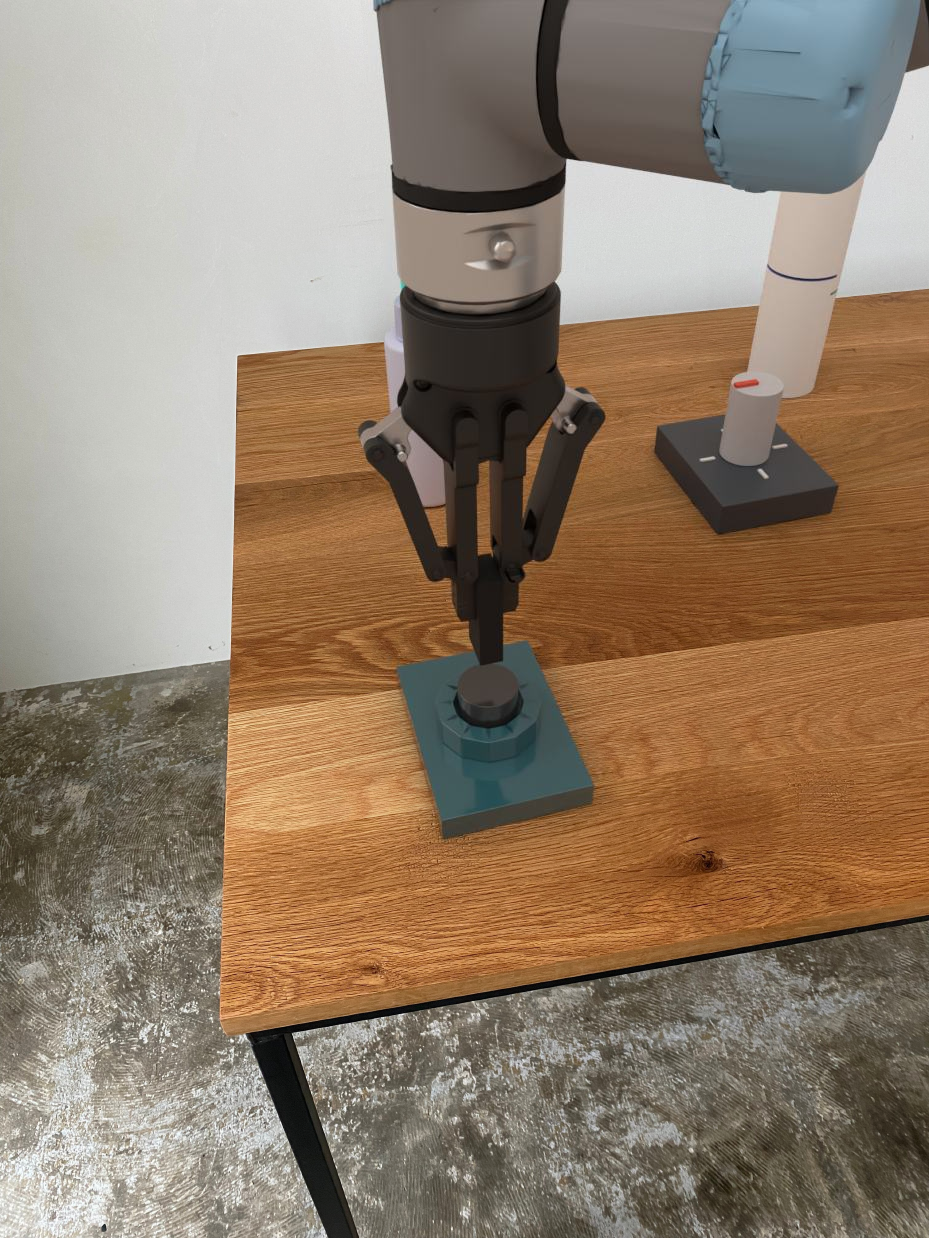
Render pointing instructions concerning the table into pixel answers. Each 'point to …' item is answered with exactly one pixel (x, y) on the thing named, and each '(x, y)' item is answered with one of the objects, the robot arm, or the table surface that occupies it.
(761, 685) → the table surface
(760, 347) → the cylindrical container
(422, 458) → the spray bottle
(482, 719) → the dark grey round knob
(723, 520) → the dial base
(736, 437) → the tap dial
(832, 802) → the table surface
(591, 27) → the robot arm
